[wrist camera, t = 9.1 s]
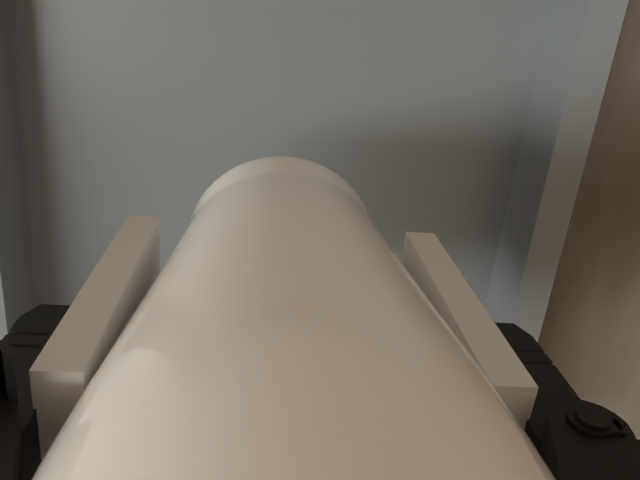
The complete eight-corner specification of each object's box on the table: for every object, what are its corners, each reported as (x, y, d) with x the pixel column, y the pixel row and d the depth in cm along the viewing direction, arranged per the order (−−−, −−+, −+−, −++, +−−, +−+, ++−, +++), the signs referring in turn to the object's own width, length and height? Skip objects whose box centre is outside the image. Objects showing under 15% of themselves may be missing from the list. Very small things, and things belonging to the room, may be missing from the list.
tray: (23, 396, 25) (-12, 454, 22) (-38, -156, 18) (-106, -189, 15) (477, 407, 28) (505, 462, 24) (591, -80, 20) (653, -94, 17)
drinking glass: (311, 74, 16) (584, 624, 2) (435, 262, 18) (944, 1094, 4) (114, 213, 17) (-588, 1197, 3) (255, 373, 19) (218, 1328, 6)
